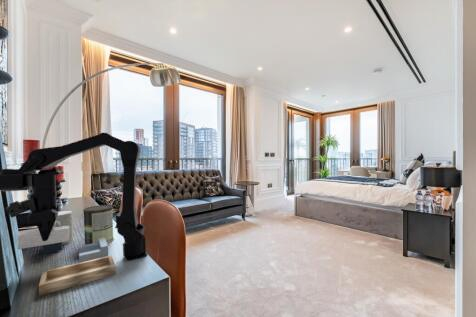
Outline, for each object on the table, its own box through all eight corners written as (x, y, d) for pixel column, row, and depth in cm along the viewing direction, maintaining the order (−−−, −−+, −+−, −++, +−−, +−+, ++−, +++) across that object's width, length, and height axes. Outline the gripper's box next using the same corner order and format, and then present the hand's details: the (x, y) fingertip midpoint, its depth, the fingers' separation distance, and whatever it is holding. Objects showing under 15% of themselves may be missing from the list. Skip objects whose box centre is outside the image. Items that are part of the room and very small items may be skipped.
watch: (62, 245, 91) (61, 217, 91) (62, 251, 85) (61, 222, 85) (43, 249, 88) (42, 220, 88) (42, 255, 81) (41, 225, 81)
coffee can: (78, 247, 89) (77, 211, 89) (93, 238, 99) (92, 205, 99) (106, 245, 89) (105, 209, 89) (118, 236, 100) (117, 204, 100)
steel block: (69, 237, 77) (69, 225, 77) (68, 240, 74) (68, 228, 74) (22, 245, 71) (21, 232, 71) (18, 249, 67) (17, 235, 67)
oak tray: (111, 263, 74) (111, 255, 74) (115, 274, 67) (115, 265, 67) (43, 280, 64) (42, 271, 64) (39, 296, 57) (38, 285, 57)
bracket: (105, 249, 86) (104, 237, 86) (108, 258, 77) (107, 245, 77) (79, 255, 81) (78, 242, 81) (79, 266, 73) (79, 251, 73)
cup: (69, 244, 92) (68, 214, 92) (44, 247, 90) (43, 216, 89) (75, 237, 100) (74, 210, 100) (52, 240, 97) (51, 212, 97)
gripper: (15, 188, 75) (16, 236, 75) (0, 196, 60) (2, 255, 60) (58, 185, 81) (59, 229, 82) (54, 191, 66) (56, 245, 66)
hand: (45, 238), depth 72 cm, fingers closed on steel block, 4 cm apart
